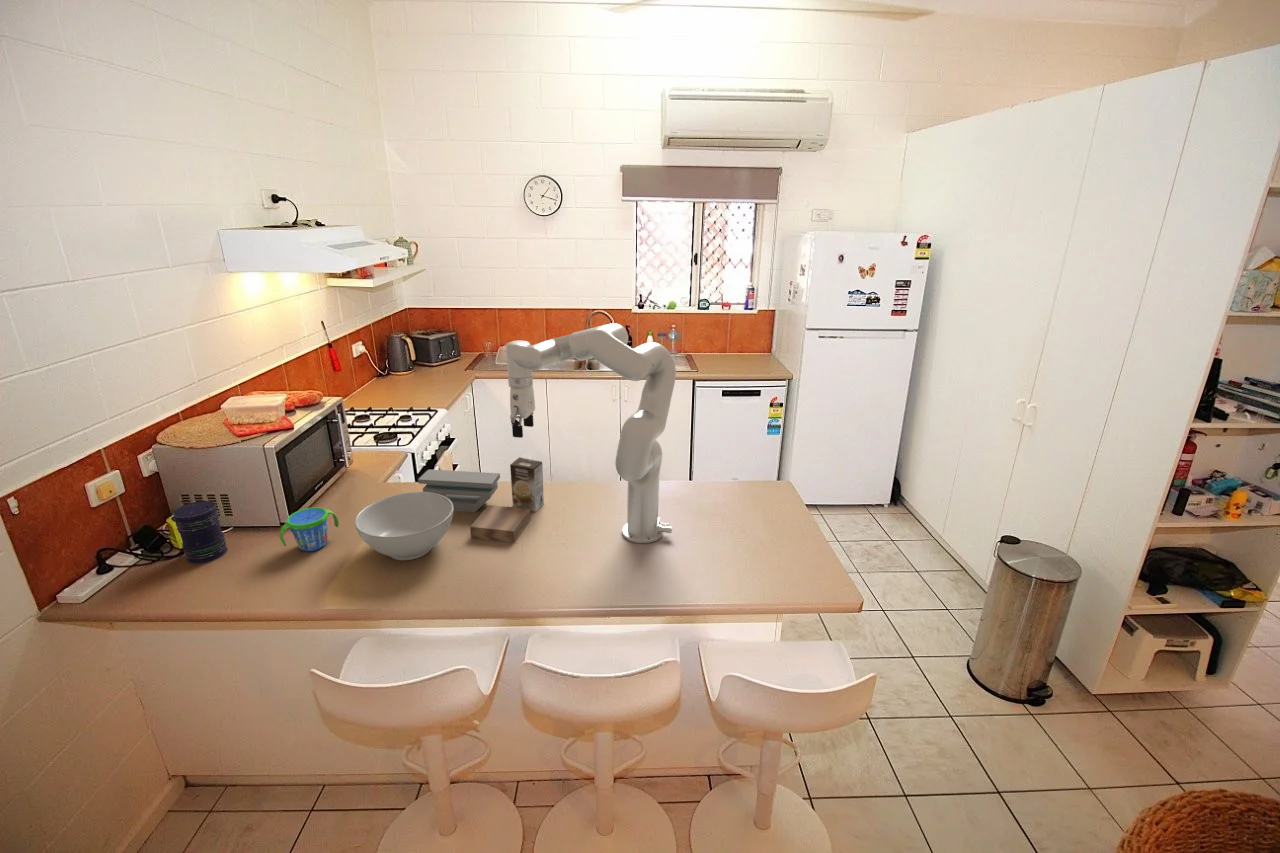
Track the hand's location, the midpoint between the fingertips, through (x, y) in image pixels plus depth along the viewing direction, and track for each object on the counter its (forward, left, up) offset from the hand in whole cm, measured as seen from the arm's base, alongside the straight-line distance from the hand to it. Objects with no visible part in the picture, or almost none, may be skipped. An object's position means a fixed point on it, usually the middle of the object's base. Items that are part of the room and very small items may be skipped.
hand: (523, 431), depth 191 cm
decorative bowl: (+25, +32, -27) cm, 49 cm away
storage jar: (+80, +46, -27) cm, 97 cm away
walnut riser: (+3, +16, -27) cm, 32 cm away
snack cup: (+54, +36, -27) cm, 70 cm away
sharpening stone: (+22, +4, -27) cm, 35 cm away
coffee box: (0, 0, -27) cm, 27 cm away
